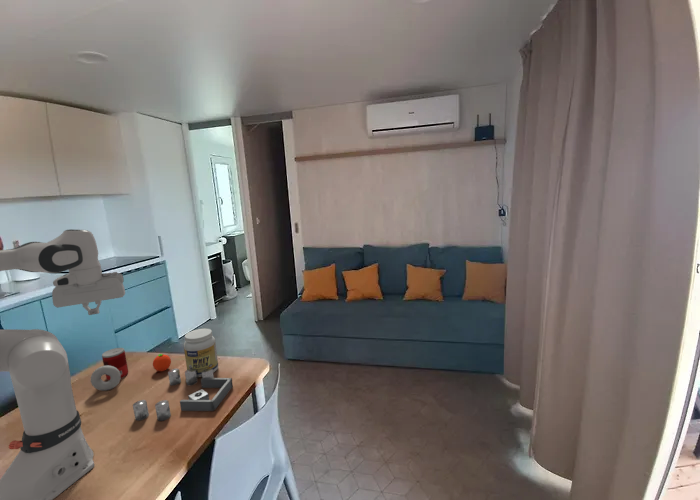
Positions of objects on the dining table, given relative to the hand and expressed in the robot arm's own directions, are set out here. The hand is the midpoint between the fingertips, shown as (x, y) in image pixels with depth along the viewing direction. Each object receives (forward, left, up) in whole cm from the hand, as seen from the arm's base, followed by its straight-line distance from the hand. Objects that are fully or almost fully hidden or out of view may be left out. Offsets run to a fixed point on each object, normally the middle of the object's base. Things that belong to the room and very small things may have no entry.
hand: (94, 313), depth 123 cm
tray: (+3, -36, -34) cm, 50 cm away
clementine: (+23, -5, -34) cm, 42 cm away
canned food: (+18, +12, -34) cm, 41 cm away
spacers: (+3, -24, -34) cm, 42 cm away
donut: (+8, +8, -34) cm, 36 cm away
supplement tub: (+22, -24, -34) cm, 47 cm away
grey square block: (+1, -34, -34) cm, 48 cm away
